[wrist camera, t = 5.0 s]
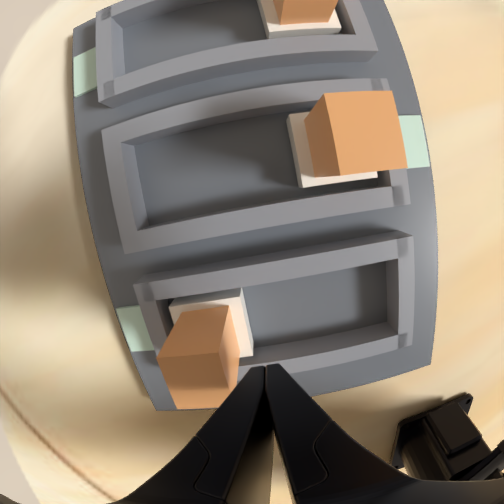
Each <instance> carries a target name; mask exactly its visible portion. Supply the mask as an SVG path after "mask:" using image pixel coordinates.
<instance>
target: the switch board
mask: <svg viewBox="0 0 504 504" xmlns="http://www.w3.org/2000/svg"><path fill="white" fill-rule="evenodd" d="M335 11H336V14H337V17H338V19H339V22H340V25H341V30H340V31H339V33H338V35H308V36H294V37H283V38H274V39H267V37H266V33H265V29H264V25H263V22H262V18H261V14H260V11H259V7H258V3H257V0H123V1H121V2H118V3H116V4H113V5H111V6H109V7H107V8H104V9H102V10H100V11H98V12H96V18H93V19H91V20H89V21H87V22H85V23H83V24H81V25H79V26H77V27H76V28H74V29H73V56H72V74H73V102H74V117H75V129H76V138H77V147H78V155H79V162H80V169H81V176H82V182H83V188H84V193H85V199H86V204H87V209H88V214H89V219H90V223H91V228H92V232H93V236H94V240H95V244H96V248H97V252H98V256H99V260H100V263H101V267H102V271H103V274H104V278H105V281H106V284H107V288H108V291H109V294H110V297H111V300H112V303H113V306H114V309H115V312H116V315H117V318H118V321H119V324H120V326H121V329H122V332H123V335H124V337H125V340H126V343H127V345H128V348H129V350H130V353H131V355H132V358H133V360H134V363H135V365H136V367H137V370H138V372H139V374H140V377H141V379H142V381H143V383H144V386H145V388H146V390H147V392H148V394H149V396H150V399H151V401H152V403H153V405H154V407H155V409H156V411H169V410H202V409H218V408H219V407H216V408H199V409H177V407H176V405H175V403H174V401H173V398H172V396H171V394H170V391H169V389H168V386H167V384H166V382H165V379H164V377H163V374H162V372H161V369H160V367H159V364H158V362H157V359H156V357H157V355H158V354H159V352H160V350H161V348H162V346H163V345H164V343H165V341H166V339H167V337H168V336H169V334H170V332H171V330H172V328H173V327H174V323H173V320H172V317H171V313H170V310H169V306H170V304H171V303H172V301H173V300H174V299H175V298H176V297H183V296H189V295H196V294H203V293H209V292H216V291H222V290H229V289H235V288H241V287H242V290H243V295H244V300H245V304H246V309H247V314H248V319H249V323H250V328H251V333H252V337H253V356H248V357H240V358H239V367H238V376H237V384H238V383H239V382H240V380H241V379H242V378H243V377H244V375H245V374H246V373H247V372H248V370H249V369H250V368H251V367H255V366H262V365H263V366H266V365H269V364H275V363H279V364H280V365H281V366H282V367H283V368H284V369H285V370H286V371H287V372H288V373H289V374H290V375H291V376H292V378H293V379H294V380H295V381H296V382H297V383H298V384H299V385H300V386H301V387H302V388H303V389H304V390H305V391H306V393H307V394H308V395H309V396H310V397H311V396H316V395H321V394H326V393H331V392H336V391H340V390H345V389H349V388H353V387H357V386H361V385H365V384H369V383H372V382H376V381H380V380H383V379H387V378H390V377H393V376H397V375H400V374H403V373H406V372H409V371H412V370H415V369H418V368H421V367H424V366H427V365H430V364H431V357H432V350H433V341H434V332H435V321H436V308H437V289H438V237H437V218H436V205H435V194H434V185H433V176H432V169H431V162H430V156H429V149H428V144H427V138H426V133H425V128H424V123H423V119H422V114H421V110H420V106H419V101H418V97H417V94H416V90H415V86H414V83H413V79H412V76H411V72H410V69H409V66H408V63H407V60H406V56H405V53H404V51H403V48H402V45H401V42H400V39H399V37H398V34H397V31H396V29H395V26H394V24H393V21H392V19H391V16H390V14H389V12H388V9H387V7H386V5H385V3H384V0H338V2H337V4H336V7H335ZM351 91H392V93H393V96H394V100H395V104H396V109H397V113H398V117H399V122H400V127H401V132H402V137H403V142H404V148H405V153H406V159H407V166H408V168H403V169H393V170H383V171H377V175H378V177H377V178H369V179H361V180H353V181H346V182H339V183H332V184H325V185H318V186H311V187H305V188H300V187H299V186H298V181H297V175H296V169H295V164H294V159H293V153H292V148H291V143H290V138H289V133H288V128H287V123H286V120H287V118H288V115H289V114H295V113H303V112H310V111H311V110H312V108H313V107H314V106H315V104H316V103H317V102H318V100H319V99H320V98H321V96H322V95H323V94H324V93H334V92H351Z"/></svg>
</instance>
